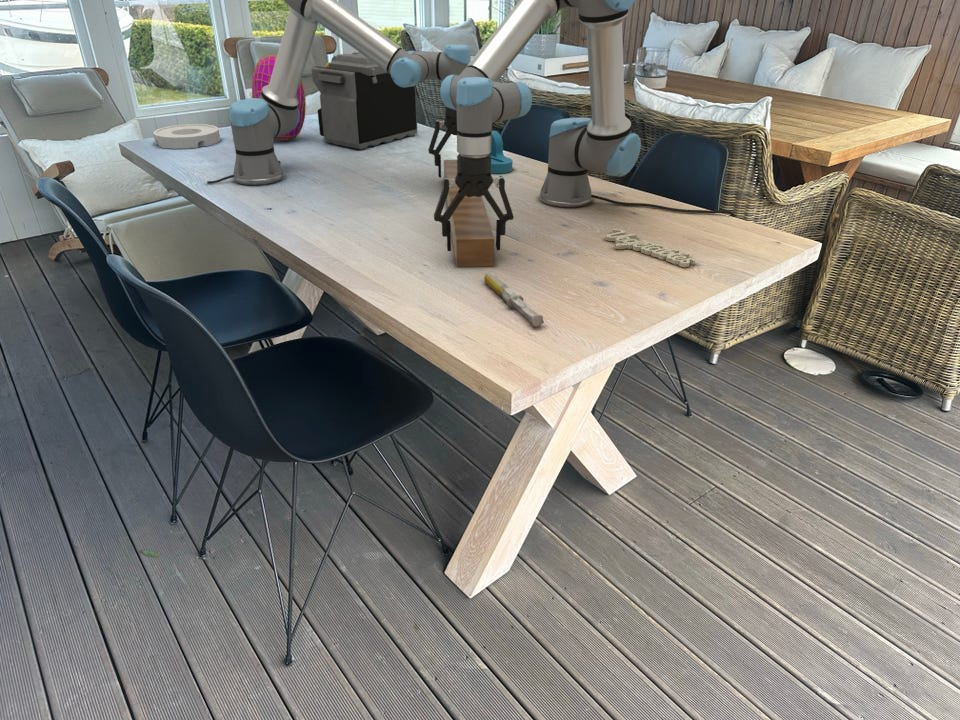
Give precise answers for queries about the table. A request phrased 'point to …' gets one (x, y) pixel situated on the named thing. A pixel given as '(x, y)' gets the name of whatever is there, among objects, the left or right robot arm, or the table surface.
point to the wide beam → (469, 227)
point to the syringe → (513, 299)
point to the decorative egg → (263, 79)
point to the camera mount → (499, 155)
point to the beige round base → (186, 136)
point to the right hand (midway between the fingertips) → (473, 248)
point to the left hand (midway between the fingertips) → (458, 176)
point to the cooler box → (362, 103)
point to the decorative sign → (649, 248)
